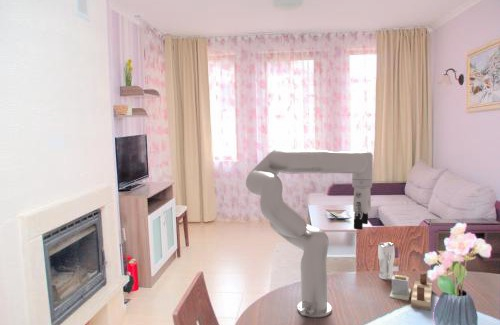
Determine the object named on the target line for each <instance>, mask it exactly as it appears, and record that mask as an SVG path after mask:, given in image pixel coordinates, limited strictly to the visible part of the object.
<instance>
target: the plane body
mask: <svg viewBox="0 0 500 325" xmlns="http://www.w3.org/2000/svg"><path fill="white" fill-rule="evenodd" d="M427 278H428V276H427V273H426V272H420V273H419V280H415V281H414V284H413V289H412V292H411V299H410V307H411V308H415V309H421V310H429V311H431V304H432V293H433V283H432V282H428V281H427Z"/></svg>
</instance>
